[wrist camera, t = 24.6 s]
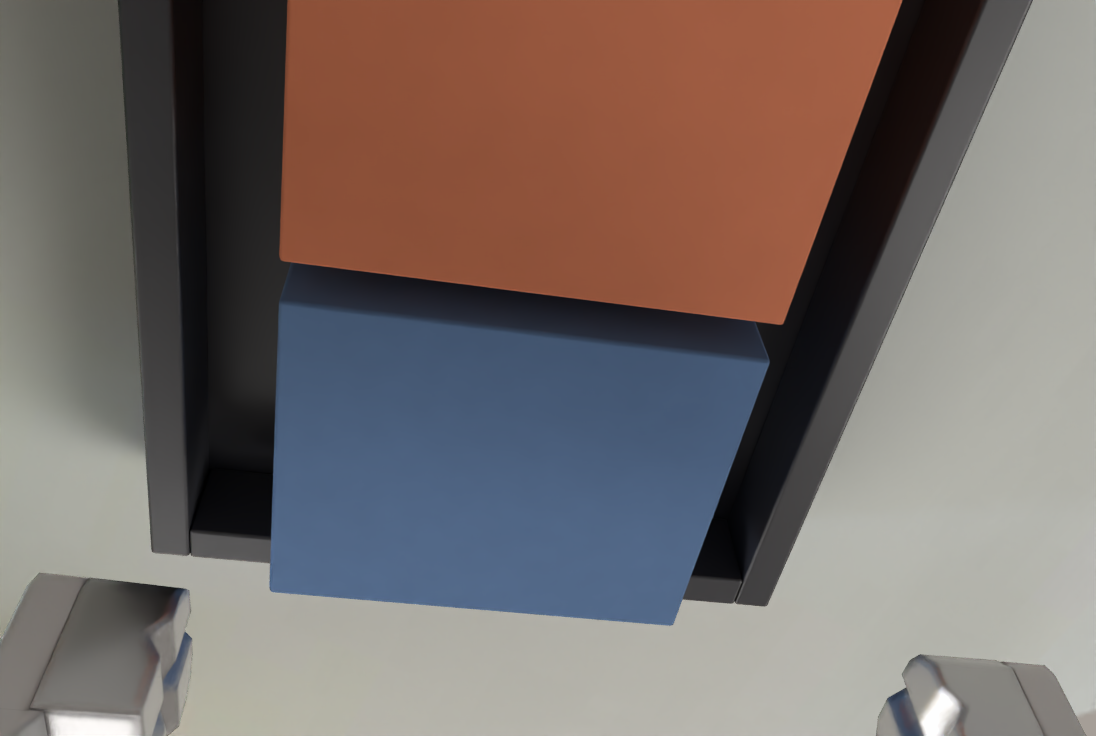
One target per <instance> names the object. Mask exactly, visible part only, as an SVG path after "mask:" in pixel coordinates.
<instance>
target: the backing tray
mask: <svg viewBox="0 0 1096 736" xmlns="http://www.w3.org/2000/svg"><path fill="white" fill-rule="evenodd" d="M1032 1H1033V0H902V3H901V6H900V8H899V11H898V14H897V17H896V19H895V22H894V25H893V27H892V30H891V33H890V36H889V38H888V41H887V44H886V46H885V49H884V52H883V55H882V57H881V60H880V63H879V65H878V68H877V71H876V74H875V76H874V79H873V82H872V84H871V87H870V90H869V93H868V95H867V98H866V101H865V103H864V106H863V109H862V112H861V114H860V117H859V120H858V122H857V125H856V128H855V131H854V133H853V136H852V139H851V141H850V144H849V147H848V150H847V152H846V155H845V158H844V160H843V163H842V166H841V169H840V171H839V174H838V177H837V179H836V182H835V185H834V188H833V190H832V193H831V196H830V198H829V201H828V204H827V207H826V209H825V212H824V215H823V217H822V220H821V223H820V226H819V228H818V231H817V234H816V236H815V239H814V242H813V245H812V247H811V250H810V253H809V255H808V258H807V261H806V264H805V266H804V269H803V272H802V274H801V277H800V280H799V283H798V285H797V288H796V291H795V293H794V296H793V299H792V302H791V304H790V307H789V310H788V312H787V315H786V318H785V321H784V323H783V324H781V325H779V324H771V323H763V322H755V323H756V325H757V328H758V331H759V333H760V336H761V339H762V341H763V344H764V347H765V349H766V352H767V355H768V357H769V361H770V363H769V366H768V369H767V371H766V374H765V377H764V379H763V382H762V385H761V388H760V390H759V393H758V396H757V398H756V401H755V404H754V407H753V409H752V412H751V415H750V417H749V420H748V423H747V426H746V428H745V431H744V434H743V436H742V439H741V442H740V444H739V447H738V450H737V453H736V455H735V458H734V461H733V463H732V466H731V469H730V472H729V474H728V477H727V480H726V482H725V485H724V488H723V491H722V493H721V496H720V499H719V501H718V504H717V507H716V510H715V512H714V515H713V518H712V520H711V523H710V526H709V529H708V531H707V534H706V537H705V539H704V542H703V545H702V547H701V550H700V553H699V556H698V558H697V561H696V564H695V566H694V569H693V572H692V575H691V577H690V580H689V583H688V585H687V588H686V591H685V594H684V596H683V599H684V600H695V601H707V602H718V603H730V604H731V603H734V601H735V603H736V604H743V605H754V606H767V605H768V602H769V600H770V598H771V596H772V593H773V591H774V589H775V586H776V584H777V582H778V580H779V577H780V575H781V573H782V571H783V568H784V566H785V564H786V561H787V559H788V557H789V555H790V552H791V550H792V548H793V545H794V543H795V541H796V539H797V536H798V534H799V532H800V530H801V527H802V525H803V523H804V520H805V518H806V516H807V514H808V511H809V509H810V507H811V504H812V502H813V500H814V498H815V495H816V493H817V491H818V489H819V486H820V484H821V482H822V479H823V477H824V475H825V473H826V470H827V468H828V466H829V463H830V461H831V459H832V457H833V454H834V452H835V450H836V448H837V445H838V443H839V441H840V438H841V436H842V434H843V432H844V429H845V427H846V425H847V422H848V420H849V418H850V416H851V413H852V411H853V409H854V406H855V404H856V402H857V400H858V397H859V395H860V393H861V391H862V388H863V386H864V384H865V381H866V379H867V377H868V375H869V372H870V370H871V368H872V365H873V363H874V361H875V359H876V356H877V354H878V352H879V350H880V347H881V345H882V343H883V340H884V338H885V336H886V334H887V331H888V329H889V327H890V324H891V322H892V320H893V318H894V315H895V313H896V311H897V309H898V306H899V304H900V302H901V299H902V297H903V295H904V293H905V290H906V288H907V286H908V283H909V281H910V279H911V277H912V274H913V272H914V270H915V268H916V265H917V263H918V261H919V258H920V256H921V254H922V252H923V249H924V247H925V245H926V242H927V240H928V238H929V236H930V233H931V231H932V229H933V226H934V224H935V222H936V220H937V217H938V215H939V213H940V211H941V208H942V206H943V204H944V201H945V199H946V197H947V195H948V192H949V190H950V188H951V185H952V183H953V181H954V179H955V176H956V174H957V172H958V170H959V167H960V165H961V163H962V160H963V158H964V156H965V154H966V151H967V149H968V147H969V144H970V142H971V140H972V138H973V135H974V133H975V131H976V129H977V126H978V124H979V122H980V119H981V117H982V115H983V113H984V110H985V108H986V106H987V103H988V101H989V99H990V97H991V94H992V92H993V90H994V88H995V85H996V83H997V81H998V78H999V76H1000V74H1001V72H1002V69H1003V67H1004V65H1005V62H1006V60H1007V58H1008V56H1009V53H1010V51H1011V49H1012V46H1013V44H1014V42H1015V40H1016V37H1017V35H1018V33H1019V31H1020V28H1021V26H1022V24H1023V21H1024V19H1025V17H1026V15H1027V12H1028V10H1029V8H1030V5H1031V3H1032ZM287 2H288V0H118V11H119V27H120V44H121V60H122V76H123V93H124V109H125V125H126V142H127V158H128V174H129V191H130V207H131V223H132V240H133V256H134V272H135V289H136V305H137V321H138V338H139V354H140V370H141V387H142V403H143V420H144V436H145V452H146V469H147V485H148V501H149V518H150V534H151V549H152V552H154V553H160V554H172V555H183V556H187V555H189V554H190V553H191V556H193V557H204V558H215V559H227V560H238V561H250V562H261V563H270V557H271V526H272V496H273V466H274V436H275V405H276V375H277V345H278V314H279V301H280V297H281V294H282V291H283V288H284V284H285V281H286V278H287V274H288V271H289V268H290V265H291V262H285V261H282V260H281V259H280V257H279V249H280V218H281V187H282V157H283V126H284V95H285V64H286V33H287Z"/></svg>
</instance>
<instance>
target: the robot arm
mask: <svg viewBox="0 0 1096 736" xmlns="http://www.w3.org/2000/svg"><path fill="white" fill-rule="evenodd" d="M190 613H191V605H190V593H189V590H187V589H183V588H174V587H166V586H157V585H149V584H140V583H132V582H123V581H114V580H106V579H97V578H86V577H76V576H67V575H57V574H48V573H39V574H38V575H37V576H36V577H35V578H34V579H33V580H32V581H31V582H30V583H29V584H28V585H27V587H26V589H25V591H24V593H23V595H22V597H21V599H20V601H19V603H18V605H17V607H16V609H15V611H14V614H13V616H12V618H11V620H10V622H9V624H8V626H7V628H6V630H5V632H4V634H3V636H2V638H1V640H0V736H168V735H169V734H170V733H171V732H173V731H174V730H175V729H176V728H177V727H179V724H180V720H181V717H182V713H183V710H184V706H185V703H186V698H187V692H188V687H189V682H190V677H191V668H192V655H193V652H192V638H191V637H190V636H189V635H188V634H187V633H186V632H185V629H186V626H187V622H188V619H189V616H190ZM902 676H903V679H904V682H905V685H906V688H905V689H903V690H901V691H899V692H898V693H896V694H894V695H892V696H891V697H889V698H887V700H886V702H885V704H884V706H883V708H882V710H881V712H880V714H879V716H878V722H877V730H876V736H1086V734H1085V732H1084V731H1083V729H1082V727H1081V725H1080V723H1079V721H1078V719H1077V717H1076V715H1075V713H1074V711H1073V709H1072V707H1071V705H1070V703H1069V701H1068V700H1067V698H1066V696H1065V694H1064V692H1063V690H1062V688H1061V686H1060V684H1059V682H1058V680H1057V678H1056V676H1055V675H1054V674H1053V673H1052V672H1051V671H1050V670H1049V669H1048V668H1047V667H1046V666H1045V665H1034V664H1023V663H1012V662H999V661H997V660H986V659H973V658H960V657H947V656H934V655H921V654H920V655H918V656H917V657H915V658H913V659H911V660H910V661H909V663H908V665H907V666H906V668H905V670H904V671H903V673H902Z"/></svg>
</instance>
